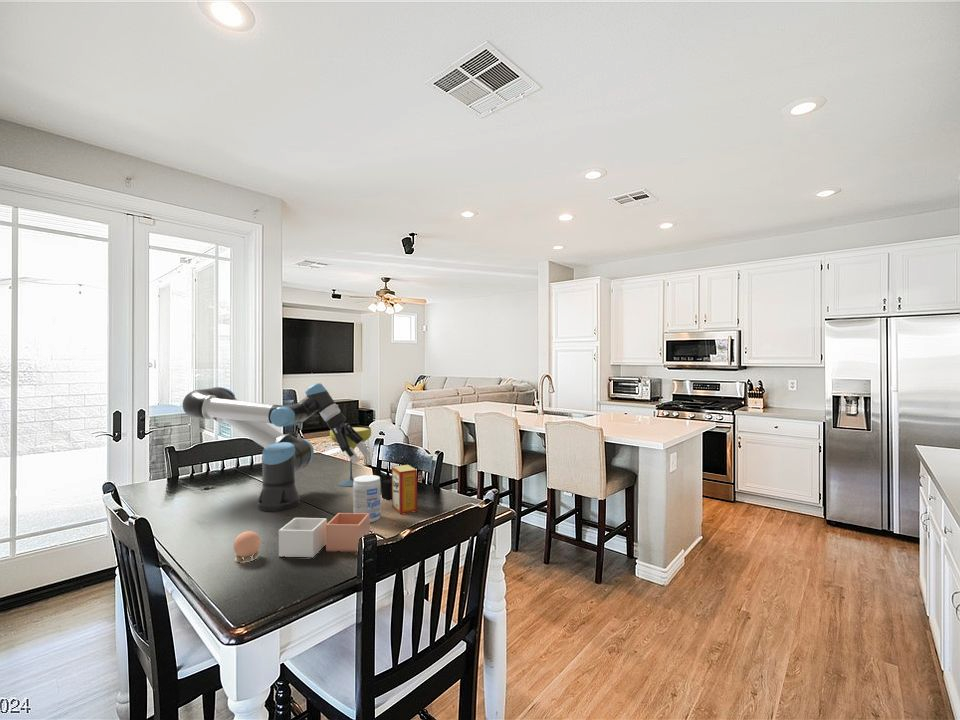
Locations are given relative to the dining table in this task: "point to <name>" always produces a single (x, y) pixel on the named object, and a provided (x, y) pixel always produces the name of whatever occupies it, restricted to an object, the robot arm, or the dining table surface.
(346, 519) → the terracotta open box
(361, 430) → the cocktail glass
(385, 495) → the digital camera
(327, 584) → the dining table surface
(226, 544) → the dining table surface
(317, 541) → the white open box
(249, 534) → the ball
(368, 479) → the supplement tub
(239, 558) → the ball stand
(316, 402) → the robot arm
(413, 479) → the baking soda box
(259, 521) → the dining table surface
